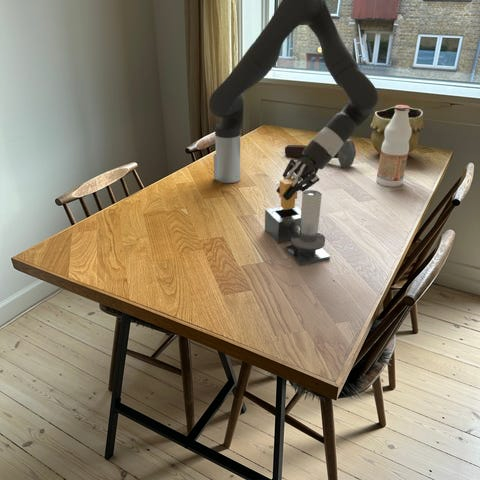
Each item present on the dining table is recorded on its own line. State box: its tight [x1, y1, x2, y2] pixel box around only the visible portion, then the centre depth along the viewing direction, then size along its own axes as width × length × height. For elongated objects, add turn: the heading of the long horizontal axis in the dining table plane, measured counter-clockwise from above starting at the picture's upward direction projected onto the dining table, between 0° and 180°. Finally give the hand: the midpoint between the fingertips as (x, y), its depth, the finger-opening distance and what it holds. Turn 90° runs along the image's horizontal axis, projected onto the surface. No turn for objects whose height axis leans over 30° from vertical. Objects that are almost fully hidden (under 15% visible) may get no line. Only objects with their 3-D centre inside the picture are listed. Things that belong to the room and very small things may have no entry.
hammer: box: [284, 138, 357, 169], centre depth 183 cm, size 5×11×30 cm
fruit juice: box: [376, 104, 412, 188], centre depth 158 cm, size 9×9×28 cm
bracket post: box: [264, 189, 331, 267], centre depth 120 cm, size 21×10×18 cm, turn 22°
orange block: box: [278, 177, 299, 210], centre depth 124 cm, size 3×4×8 cm
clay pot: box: [370, 106, 424, 155], centre depth 185 cm, size 21×21×20 cm
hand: (281, 195), depth 123 cm, fingers closed on orange block, 3 cm apart
